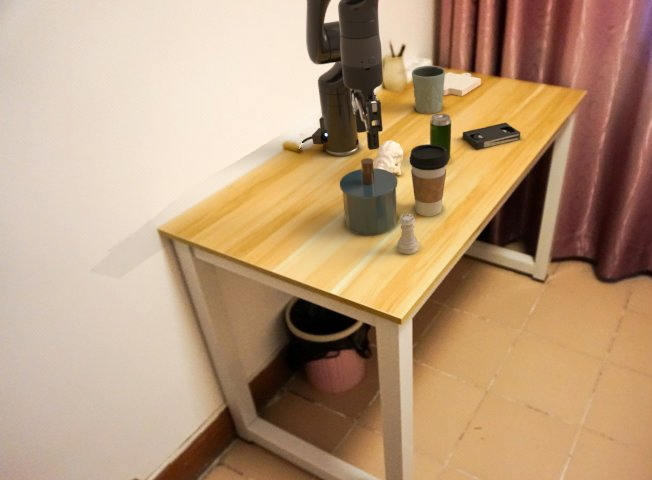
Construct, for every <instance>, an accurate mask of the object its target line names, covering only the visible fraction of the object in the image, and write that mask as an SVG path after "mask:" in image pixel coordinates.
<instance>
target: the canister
mask: <svg viewBox="0 0 652 480" xmlns="http://www.w3.org/2000/svg"><path fill="white" fill-rule="evenodd" d="M342 200H343V206H344V207H343V208H344V219H345V225H346V227H347V228H348V229H349V230H350V231H351V232H353V233H355V234H358V235H363V236H377V235H382V234H385V233H387V232H389V231H390V230H392V229H393V228H394V227H395V226H396V224H397V221H398V214H397V213H398V211H397V210H398V209H397V187H396V188H395V190H394V191H392V192H391V193H389V194H387V195H385V196H382V197H379V198H373V199H359V198H354V197H351V196H348V195H346V194H345V193H343V192H342Z"/></svg>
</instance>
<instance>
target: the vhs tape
mask: <svg viewBox="0 0 652 480" xmlns="http://www.w3.org/2000/svg"><path fill="white" fill-rule="evenodd" d="M462 140H463V141H464V142H466V143H467V144H468V145H470V146H471V147H472V148H474V149H475V150H482V149H486V148H491V147H495V146H498V145H502V144H506V143H507V144H508V143H511V142H516V141H519V140H521V132H520V131H519V130H518V129H516V128H515V127H513V126H512V125H510V124H509V123H507V122H501V123H497V124H493V125H489V126H485V127H480V128H476V129H472V130H471V129H470V130H467V131H462Z"/></svg>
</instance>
